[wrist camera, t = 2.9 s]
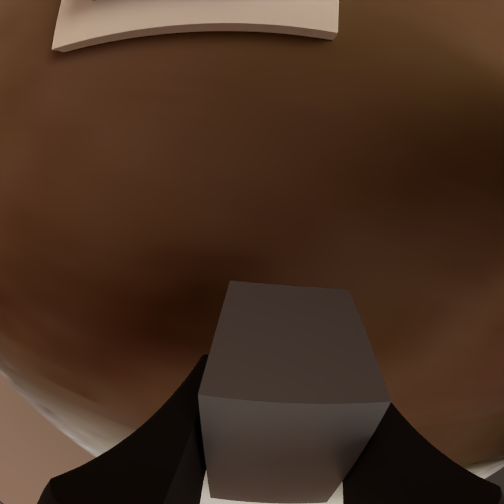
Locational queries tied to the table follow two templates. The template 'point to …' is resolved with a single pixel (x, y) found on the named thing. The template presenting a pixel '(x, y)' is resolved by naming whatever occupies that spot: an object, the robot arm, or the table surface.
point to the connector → (287, 393)
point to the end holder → (188, 19)
